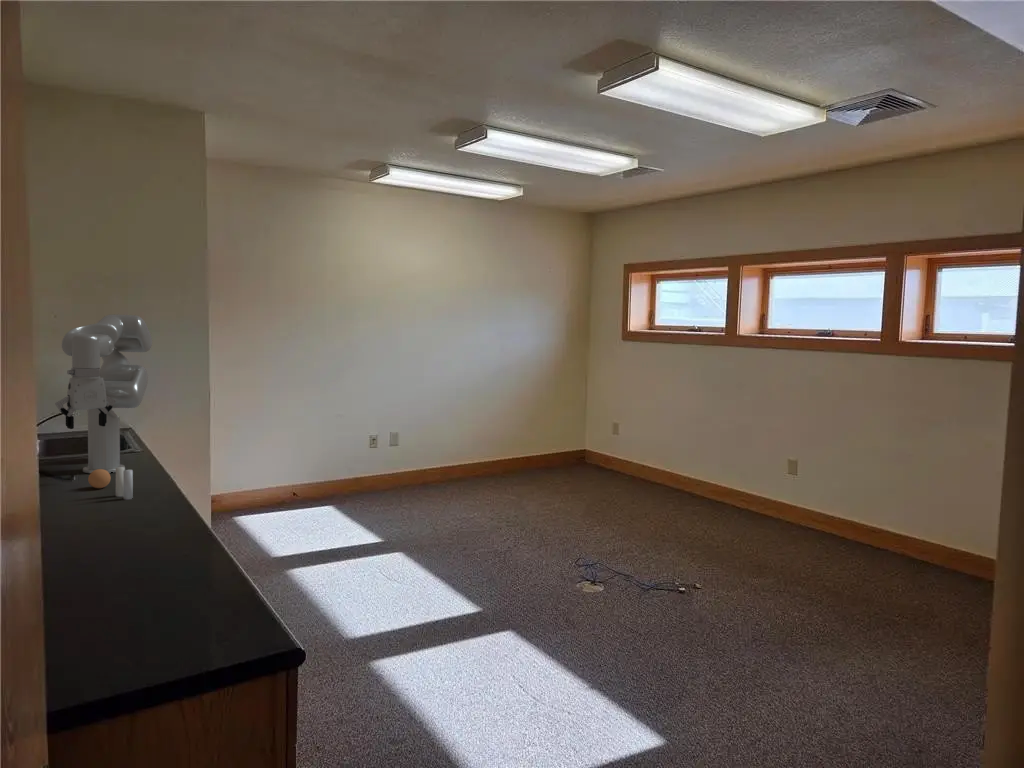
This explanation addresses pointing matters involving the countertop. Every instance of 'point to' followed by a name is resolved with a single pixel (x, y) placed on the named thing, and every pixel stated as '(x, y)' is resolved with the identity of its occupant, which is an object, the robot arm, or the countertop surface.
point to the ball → (99, 478)
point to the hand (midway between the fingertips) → (86, 427)
